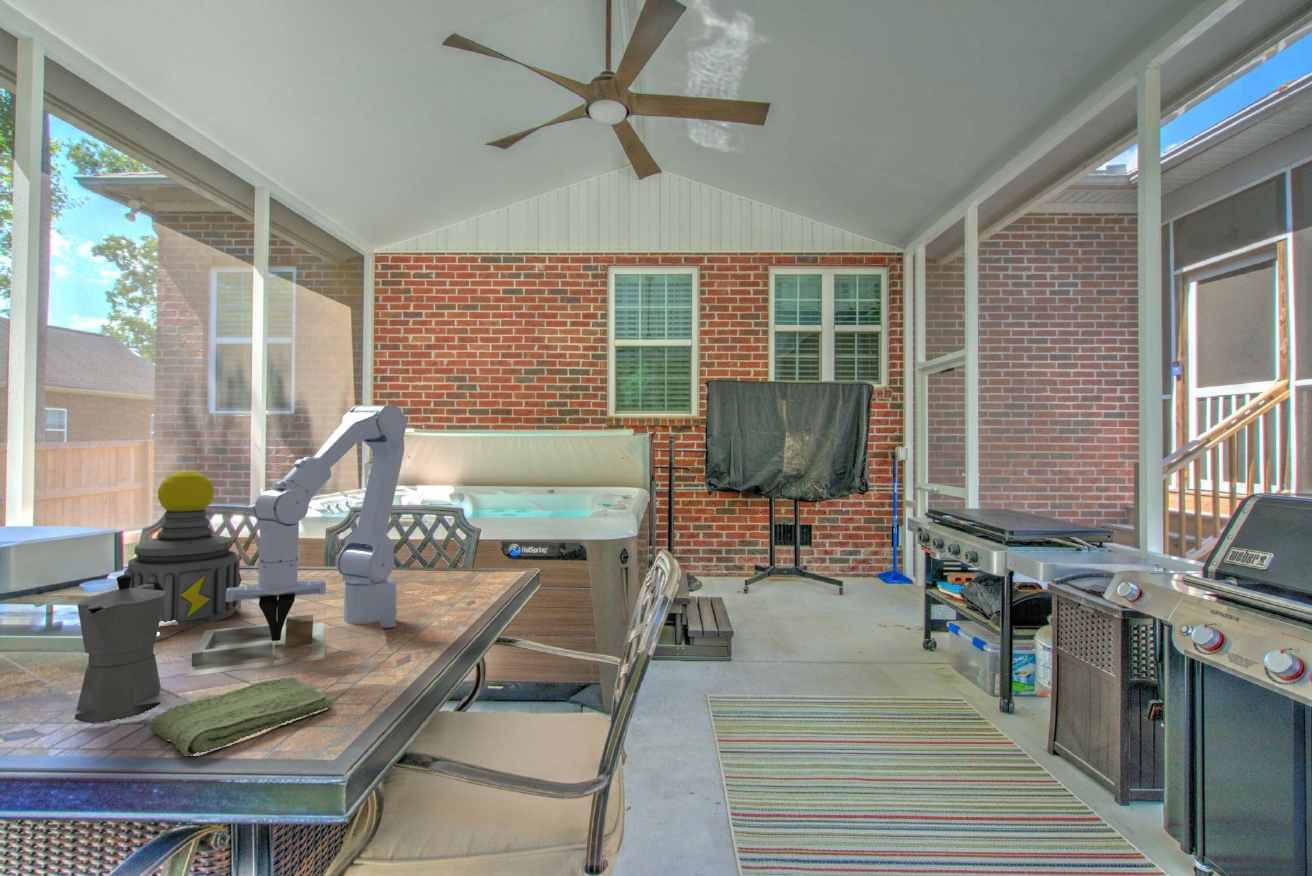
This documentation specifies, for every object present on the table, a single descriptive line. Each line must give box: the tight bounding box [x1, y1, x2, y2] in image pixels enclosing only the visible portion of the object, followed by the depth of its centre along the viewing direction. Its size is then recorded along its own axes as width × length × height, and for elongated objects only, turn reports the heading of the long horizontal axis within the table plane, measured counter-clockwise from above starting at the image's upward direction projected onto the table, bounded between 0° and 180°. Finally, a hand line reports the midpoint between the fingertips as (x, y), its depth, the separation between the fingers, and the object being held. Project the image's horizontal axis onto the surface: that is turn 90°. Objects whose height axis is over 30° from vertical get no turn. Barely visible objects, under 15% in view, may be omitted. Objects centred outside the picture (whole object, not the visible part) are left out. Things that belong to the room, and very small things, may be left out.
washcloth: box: [148, 676, 335, 757], centre depth 80 cm, size 13×18×3 cm
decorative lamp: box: [123, 470, 242, 627], centre depth 124 cm, size 19×19×30 cm
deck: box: [185, 622, 326, 678], centre depth 104 cm, size 18×22×4 cm
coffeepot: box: [74, 574, 166, 724], centre depth 84 cm, size 15×9×18 cm, turn 13°
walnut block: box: [285, 614, 314, 647], centre depth 107 cm, size 4×4×4 cm
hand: (276, 639), depth 105 cm, fingers closed
